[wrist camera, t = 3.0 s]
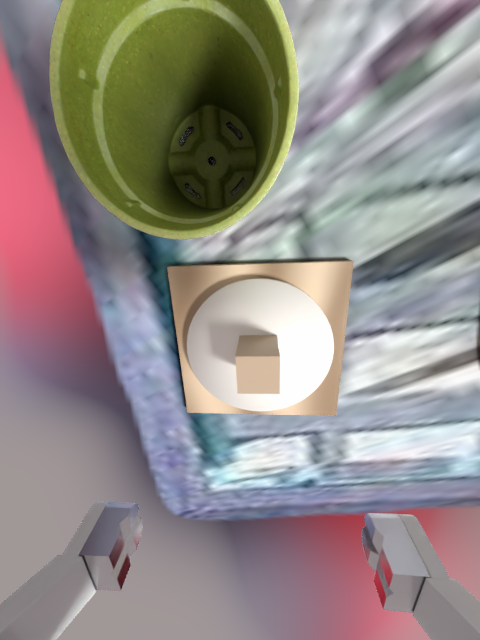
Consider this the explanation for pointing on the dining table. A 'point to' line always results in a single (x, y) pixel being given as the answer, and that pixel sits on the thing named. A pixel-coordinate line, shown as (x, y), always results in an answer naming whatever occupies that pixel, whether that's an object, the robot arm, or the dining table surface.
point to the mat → (311, 277)
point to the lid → (260, 344)
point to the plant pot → (174, 106)
